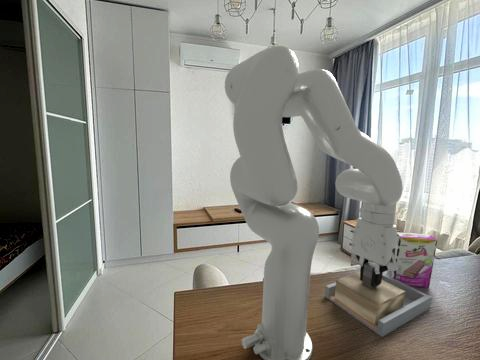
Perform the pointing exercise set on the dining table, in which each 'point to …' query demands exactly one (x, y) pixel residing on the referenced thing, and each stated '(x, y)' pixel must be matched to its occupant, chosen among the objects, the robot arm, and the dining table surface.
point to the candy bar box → (414, 259)
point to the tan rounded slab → (369, 295)
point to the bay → (411, 308)
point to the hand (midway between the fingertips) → (369, 281)
